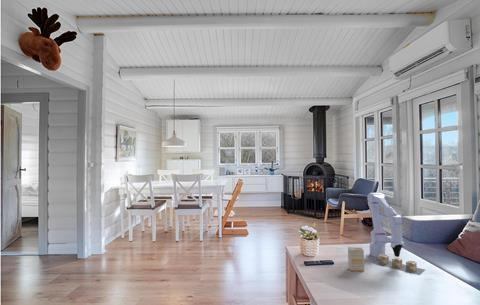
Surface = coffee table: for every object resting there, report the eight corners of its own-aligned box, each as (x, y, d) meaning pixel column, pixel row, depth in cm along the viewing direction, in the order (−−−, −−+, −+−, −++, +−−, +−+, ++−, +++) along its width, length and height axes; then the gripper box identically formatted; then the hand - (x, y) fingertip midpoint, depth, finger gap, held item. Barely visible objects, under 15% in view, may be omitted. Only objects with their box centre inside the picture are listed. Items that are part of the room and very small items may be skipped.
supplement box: (361, 268, 178) (361, 247, 178) (364, 271, 173) (363, 249, 173) (348, 268, 178) (347, 247, 179) (350, 271, 174) (349, 249, 174)
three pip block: (405, 269, 174) (405, 261, 174) (408, 267, 177) (408, 259, 177) (414, 271, 170) (414, 263, 171) (416, 269, 174) (416, 261, 174)
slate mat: (370, 263, 186) (370, 262, 186) (378, 259, 194) (378, 258, 194) (419, 276, 165) (419, 275, 165) (425, 270, 173) (425, 269, 173)
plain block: (391, 265, 180) (391, 258, 180) (394, 264, 183) (394, 257, 183) (399, 267, 176) (399, 260, 177) (402, 266, 179) (402, 258, 180)
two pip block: (378, 262, 186) (378, 255, 186) (381, 260, 189) (381, 253, 189) (386, 264, 182) (385, 257, 182) (388, 262, 185) (388, 255, 185)
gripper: (399, 238, 172) (399, 260, 172) (407, 233, 182) (408, 255, 182) (386, 235, 177) (387, 257, 177) (395, 231, 187) (396, 252, 187)
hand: (396, 256), depth 180 cm, fingers closed
